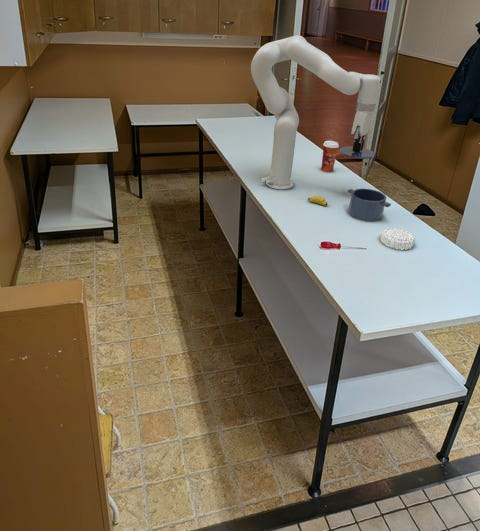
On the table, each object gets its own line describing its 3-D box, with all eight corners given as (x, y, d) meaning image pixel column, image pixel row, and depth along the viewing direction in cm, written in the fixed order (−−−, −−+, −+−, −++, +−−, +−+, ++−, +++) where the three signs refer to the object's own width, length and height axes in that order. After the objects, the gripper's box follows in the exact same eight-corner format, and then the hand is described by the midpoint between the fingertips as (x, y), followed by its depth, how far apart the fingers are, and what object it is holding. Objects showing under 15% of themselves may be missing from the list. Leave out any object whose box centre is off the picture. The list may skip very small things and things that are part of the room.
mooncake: (408, 253, 178) (410, 244, 176) (375, 243, 183) (377, 234, 181) (416, 241, 187) (419, 232, 185) (385, 231, 192) (387, 223, 190)
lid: (361, 162, 204) (364, 148, 201) (332, 152, 213) (334, 139, 210) (380, 156, 214) (383, 142, 211) (352, 146, 222) (354, 133, 219)
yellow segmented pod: (329, 204, 211) (330, 197, 209) (326, 207, 208) (327, 200, 207) (309, 199, 214) (310, 192, 213) (306, 201, 212) (307, 194, 210)
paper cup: (325, 173, 244) (329, 145, 237) (316, 168, 250) (320, 140, 242) (338, 171, 247) (342, 144, 240) (328, 166, 253) (333, 139, 246)
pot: (375, 226, 195) (380, 207, 191) (336, 210, 206) (340, 191, 202) (393, 217, 204) (398, 198, 200) (355, 202, 215) (358, 184, 211)
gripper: (363, 102, 211) (355, 144, 220) (350, 108, 199) (342, 153, 208) (380, 105, 208) (371, 148, 217) (368, 112, 196) (359, 157, 205)
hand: (357, 150), depth 213 cm, fingers closed on lid, 2 cm apart
